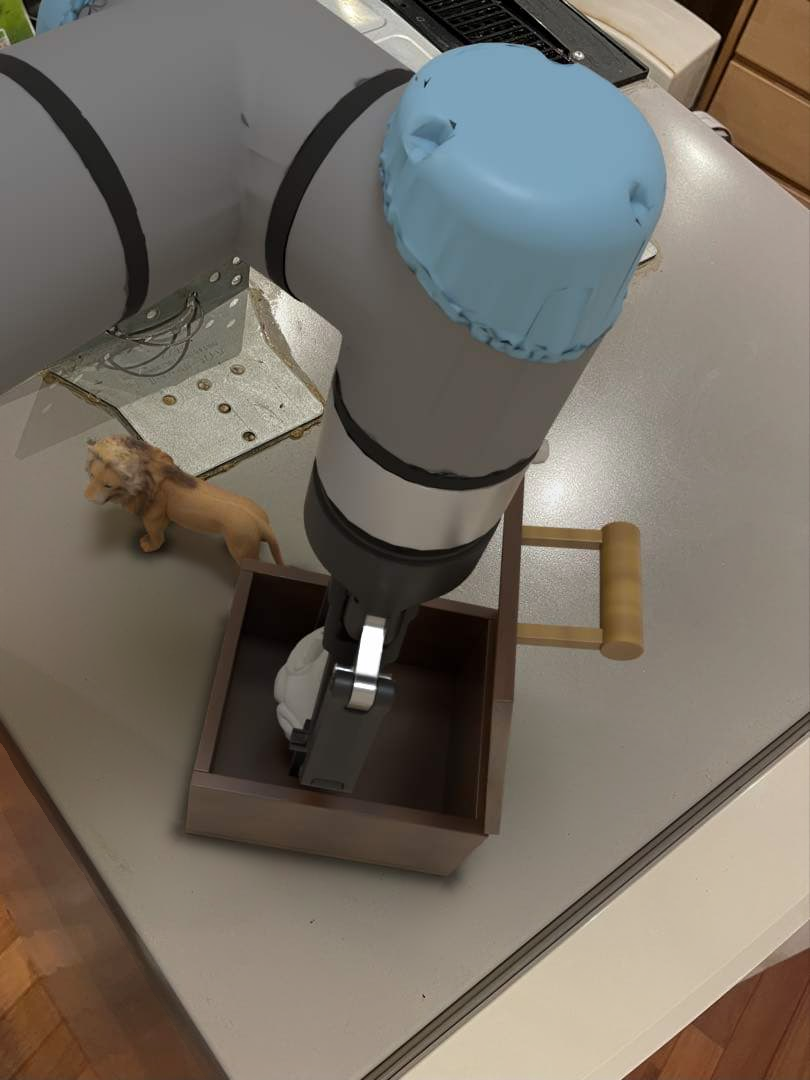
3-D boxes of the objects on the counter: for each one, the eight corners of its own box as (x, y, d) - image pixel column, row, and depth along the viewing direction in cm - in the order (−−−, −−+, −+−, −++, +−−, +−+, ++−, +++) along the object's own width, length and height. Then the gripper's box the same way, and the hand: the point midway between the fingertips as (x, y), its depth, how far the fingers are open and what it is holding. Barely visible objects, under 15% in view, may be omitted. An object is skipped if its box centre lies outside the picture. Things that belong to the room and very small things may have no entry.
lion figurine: (76, 551, 65) (66, 472, 57) (104, 487, 68) (98, 404, 60) (294, 609, 66) (312, 539, 58) (312, 543, 69) (332, 469, 61)
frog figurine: (375, 667, 61) (398, 623, 55) (364, 780, 57) (386, 746, 51) (277, 652, 60) (289, 605, 54) (259, 765, 56) (270, 729, 50)
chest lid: (492, 701, 37) (656, 713, 37) (509, 424, 45) (646, 432, 44) (483, 834, 51) (603, 845, 51) (498, 605, 59) (602, 613, 58)
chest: (184, 832, 57) (189, 785, 50) (232, 625, 64) (242, 557, 57) (447, 876, 59) (489, 837, 51) (463, 670, 66) (502, 609, 59)
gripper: (493, 747, 32) (366, 898, 51) (520, 306, 43) (407, 564, 62) (265, 705, 31) (222, 875, 50) (352, 265, 42) (290, 540, 61)
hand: (325, 703), depth 56 cm, fingers open, 8 cm apart
